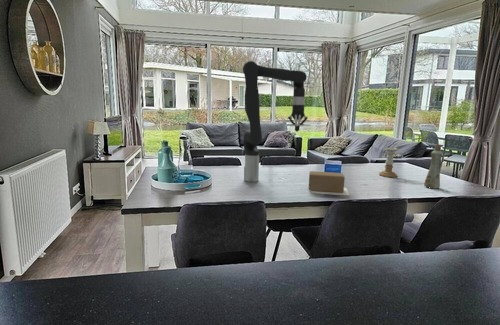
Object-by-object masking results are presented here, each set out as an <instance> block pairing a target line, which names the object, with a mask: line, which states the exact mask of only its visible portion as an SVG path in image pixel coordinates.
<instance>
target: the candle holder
mask: <svg viewBox="0 0 500 325" xmlns="http://www.w3.org/2000/svg"><path fill="white" fill-rule="evenodd" d="M382 150H383V151H386V153H387V154H386V159H385V163H384V164H385V165H384V170H382V171H381V172H379V173H378V175H379V176H381V177H383V178H392V177H393V178H397V177H398V174H397V173H396V172H394V171H393V168H394V166H393V165H394V157H395V156H394V153H395V152H399V150H400V149H399V148H396V147H383V149H382Z"/></svg>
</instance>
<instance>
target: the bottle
mask: <svg viewBox="0 0 500 325" xmlns="http://www.w3.org/2000/svg"><path fill="white" fill-rule="evenodd" d="M441 150H442V145H441V144H439V143H438V144H435V146H434V150H433V151H431V153H430V154H431V156H430V157H431V158H430V159H431V160H430V161H431V162H430V166H429V169H428V172H427V175H426V177H425V180H424V183H423V185H424V187H425V186H426V187H425V188H427V187H430V188H429V189H439V188H440V186H441V182H440V181H441V175H440V174H441V173H440V163H441V159H442V157H443V151H441Z"/></svg>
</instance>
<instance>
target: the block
mask: <svg viewBox="0 0 500 325" xmlns="http://www.w3.org/2000/svg"><path fill="white" fill-rule="evenodd" d="M308 174H309V176H308V190H309V191H324V192H338V193H343V191H344V188H345V175H344V174H343V173H342V172H330V171H314V170H313V171H312V170H311V171H309V172H308Z"/></svg>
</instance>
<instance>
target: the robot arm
mask: <svg viewBox="0 0 500 325" xmlns="http://www.w3.org/2000/svg"><path fill="white" fill-rule="evenodd" d="M242 72H243V74H244V82H245V89H244V110H245V114H246V116H247V119H248V123H249V129H247V130H246V131H245V133H244V135H243V150H244V167H243V181H244V182H248V183H257V182H259V180H260V179H259V175H260V172H259V171H260V150H259V149H258V147H257V146H258V145H260V144H261V142H262V140H263V134H262V133H263V132H262V126H261V113H260V112H261V111H260V94H259V86H258V85H259V84H258V80H259V77H260V78H261V77H262V78H268V79H272V80H277V81H284V82H293V83H292V84H293V95H292V96H293V97H292V107H291V108H292V109H291V114H290V115H289V116H288V117H287V119H289V121H290V123H291V125H293V126H294V131H295V132H297V133H298V132H299V131H300V126H303V125H304V123H305V122H306V121H307V120H308V117H307V115H305V102H306V101H305V97H306V96H305V93H306V91H305V90H306V89H305V85H304V83H305V82H306V81H307V76H308V75H307V73H306V72H305V71H302V70H292V69H286V68H281V67H269V66H264V65H259V64H257V62H255V61H253V60H250V61H249V60H248V61H247V62H245V63H244V64H243V66H242Z"/></svg>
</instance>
